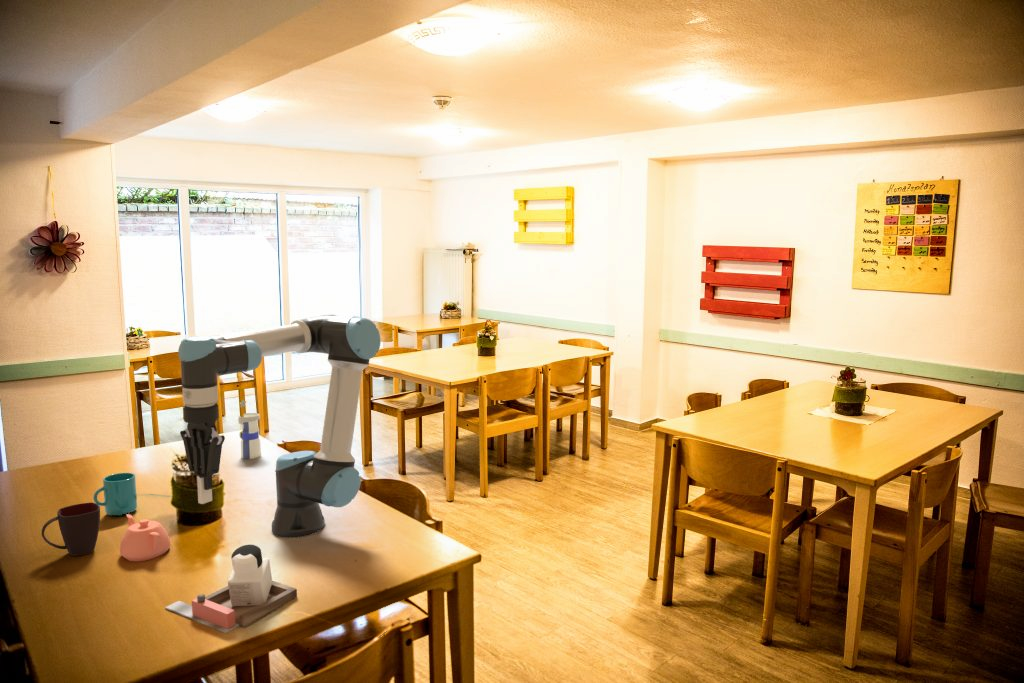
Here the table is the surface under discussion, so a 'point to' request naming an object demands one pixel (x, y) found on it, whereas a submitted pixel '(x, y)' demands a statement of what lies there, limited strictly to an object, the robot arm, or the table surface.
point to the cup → (118, 494)
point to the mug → (77, 527)
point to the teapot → (144, 540)
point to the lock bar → (213, 612)
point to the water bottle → (249, 435)
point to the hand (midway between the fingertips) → (205, 501)
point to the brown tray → (243, 614)
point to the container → (249, 577)
